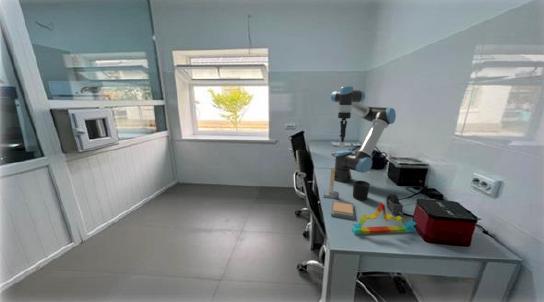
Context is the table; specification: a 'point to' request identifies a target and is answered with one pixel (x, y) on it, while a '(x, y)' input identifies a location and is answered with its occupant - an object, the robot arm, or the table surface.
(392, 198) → the caster wheel
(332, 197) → the mat
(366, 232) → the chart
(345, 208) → the tile
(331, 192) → the wooden post on base
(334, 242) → the table surface
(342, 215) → the slate board
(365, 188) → the pen holder
